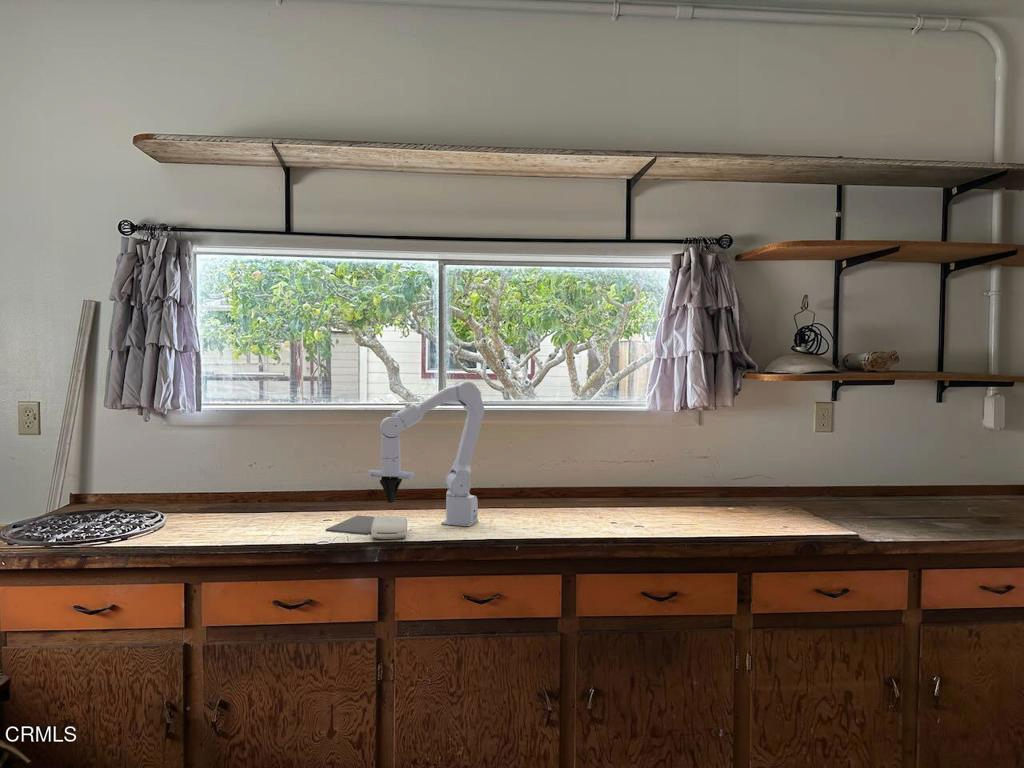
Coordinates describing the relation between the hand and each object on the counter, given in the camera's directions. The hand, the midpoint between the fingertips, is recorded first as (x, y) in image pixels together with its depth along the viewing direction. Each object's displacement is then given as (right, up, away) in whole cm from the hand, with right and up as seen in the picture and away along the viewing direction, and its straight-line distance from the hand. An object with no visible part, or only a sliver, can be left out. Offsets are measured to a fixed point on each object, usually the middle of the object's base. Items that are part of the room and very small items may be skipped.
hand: (391, 502), depth 190 cm
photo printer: (0, -6, -2) cm, 6 cm away
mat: (-9, -8, +3) cm, 13 cm away
